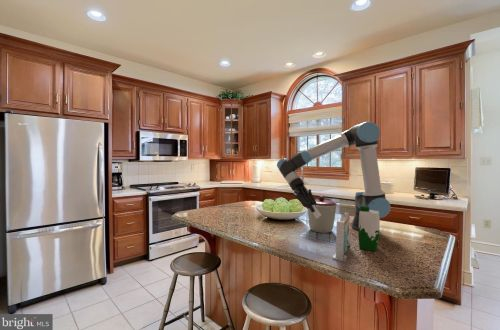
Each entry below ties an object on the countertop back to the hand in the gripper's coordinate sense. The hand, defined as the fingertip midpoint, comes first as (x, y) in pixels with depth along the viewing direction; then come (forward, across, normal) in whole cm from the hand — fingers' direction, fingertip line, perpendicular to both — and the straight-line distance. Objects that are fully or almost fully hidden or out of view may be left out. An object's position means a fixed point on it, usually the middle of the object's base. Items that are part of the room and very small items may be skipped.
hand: (318, 216), depth 128 cm
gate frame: (+19, 0, 0) cm, 19 cm away
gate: (+18, 0, +1) cm, 18 cm away
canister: (0, -20, -20) cm, 28 cm away
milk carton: (+23, -15, +3) cm, 27 cm away
